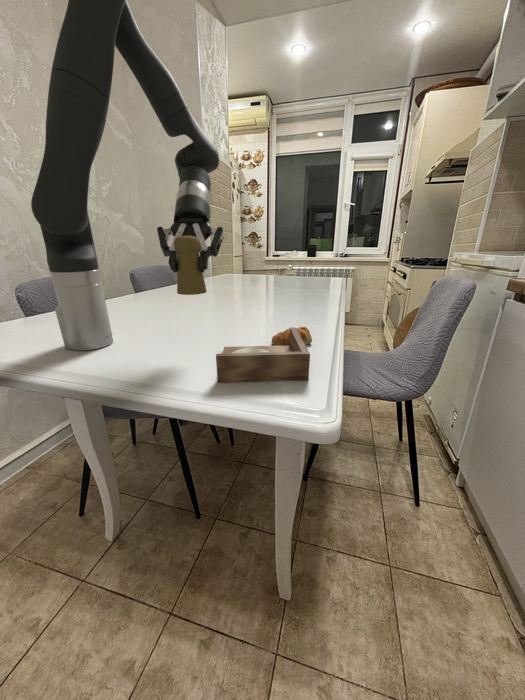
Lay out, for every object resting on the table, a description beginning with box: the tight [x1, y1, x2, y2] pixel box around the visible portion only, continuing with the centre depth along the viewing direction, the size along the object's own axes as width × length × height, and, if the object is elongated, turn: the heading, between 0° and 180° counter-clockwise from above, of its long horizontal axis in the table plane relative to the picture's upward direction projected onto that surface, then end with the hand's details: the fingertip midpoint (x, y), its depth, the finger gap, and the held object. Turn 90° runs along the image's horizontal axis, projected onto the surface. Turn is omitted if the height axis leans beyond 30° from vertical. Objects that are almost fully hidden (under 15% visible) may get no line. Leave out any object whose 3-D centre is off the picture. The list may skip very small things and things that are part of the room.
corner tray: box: [215, 327, 311, 384], centre depth 57 cm, size 16×16×5 cm
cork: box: [174, 236, 207, 296], centre depth 59 cm, size 6×6×11 cm
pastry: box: [271, 326, 313, 346], centre depth 69 cm, size 9×7×4 cm
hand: (188, 269), depth 57 cm, fingers closed on cork, 4 cm apart
